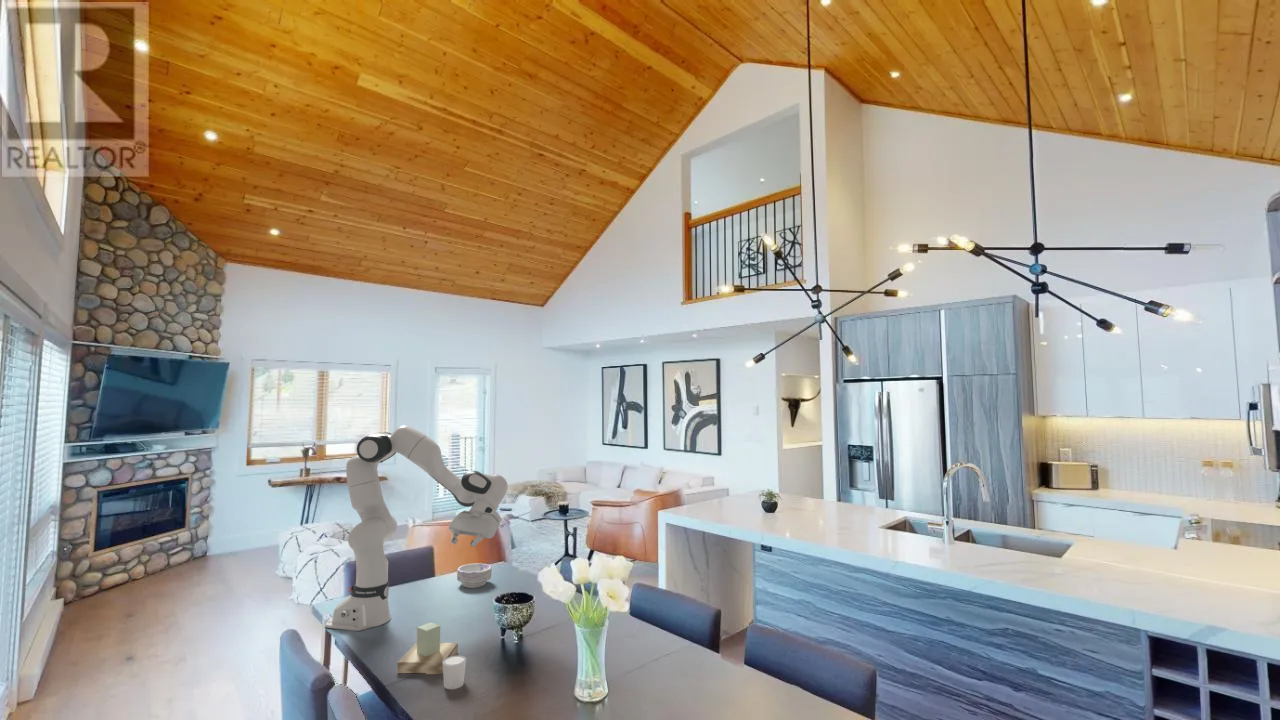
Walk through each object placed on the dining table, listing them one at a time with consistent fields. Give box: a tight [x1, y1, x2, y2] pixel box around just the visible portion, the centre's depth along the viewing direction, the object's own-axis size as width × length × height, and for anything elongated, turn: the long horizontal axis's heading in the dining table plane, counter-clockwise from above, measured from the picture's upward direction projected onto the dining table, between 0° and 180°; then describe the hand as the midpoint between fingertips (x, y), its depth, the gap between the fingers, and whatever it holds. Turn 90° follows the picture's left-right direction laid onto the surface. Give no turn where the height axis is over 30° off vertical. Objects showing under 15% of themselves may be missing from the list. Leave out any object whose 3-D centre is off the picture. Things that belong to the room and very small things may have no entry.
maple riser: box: [396, 642, 459, 675], centre depth 180 cm, size 14×14×4 cm
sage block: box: [416, 622, 441, 657], centre depth 181 cm, size 5×5×8 cm
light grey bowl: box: [456, 562, 492, 589], centre depth 256 cm, size 15×15×8 cm
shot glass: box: [442, 654, 467, 690], centre depth 167 cm, size 7×7×7 cm
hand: (462, 544), depth 207 cm, fingers open, 8 cm apart
